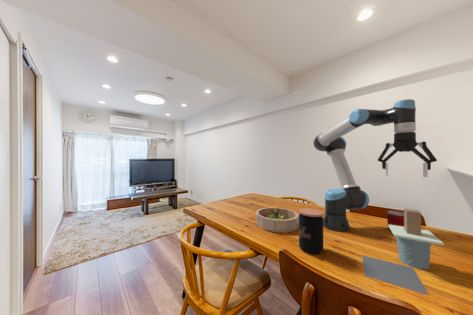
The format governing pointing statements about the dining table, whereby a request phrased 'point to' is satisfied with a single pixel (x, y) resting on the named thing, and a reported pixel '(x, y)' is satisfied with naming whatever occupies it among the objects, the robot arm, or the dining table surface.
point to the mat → (393, 274)
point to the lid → (414, 229)
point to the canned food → (395, 218)
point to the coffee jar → (311, 231)
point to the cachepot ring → (277, 220)
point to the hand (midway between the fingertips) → (405, 176)
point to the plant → (276, 215)
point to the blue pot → (414, 253)
